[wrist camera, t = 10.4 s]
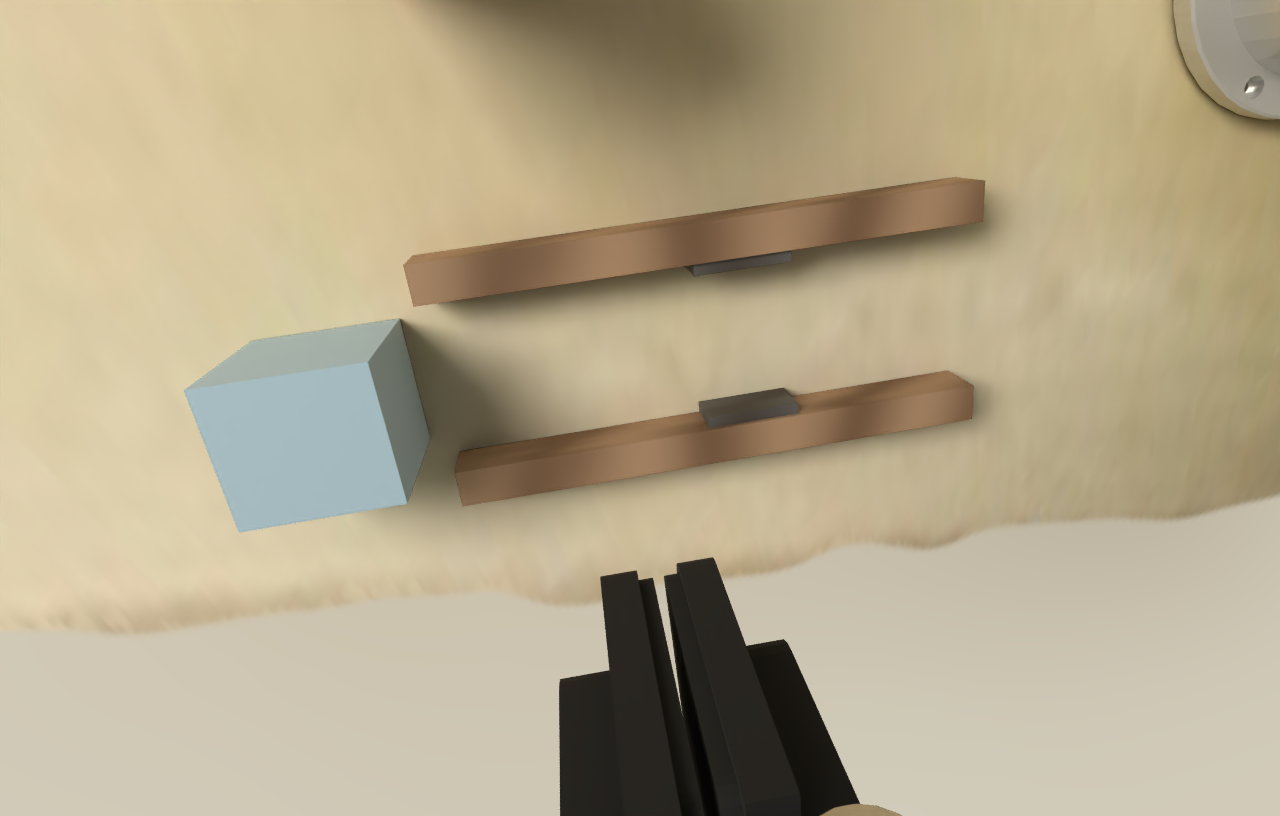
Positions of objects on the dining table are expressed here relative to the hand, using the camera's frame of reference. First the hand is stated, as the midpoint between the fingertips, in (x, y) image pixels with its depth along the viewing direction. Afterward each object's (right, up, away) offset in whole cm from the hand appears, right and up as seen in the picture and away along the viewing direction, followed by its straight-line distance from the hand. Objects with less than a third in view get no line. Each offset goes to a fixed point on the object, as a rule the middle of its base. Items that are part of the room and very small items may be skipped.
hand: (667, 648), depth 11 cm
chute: (+2, +7, +21) cm, 22 cm away
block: (-13, +4, +20) cm, 24 cm away
